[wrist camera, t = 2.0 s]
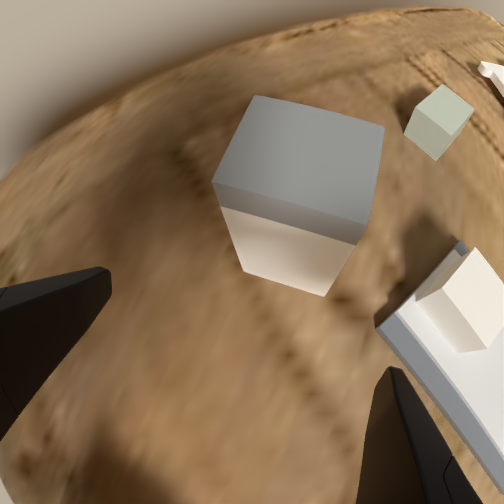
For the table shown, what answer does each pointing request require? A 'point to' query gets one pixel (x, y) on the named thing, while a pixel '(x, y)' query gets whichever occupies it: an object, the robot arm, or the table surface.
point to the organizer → (493, 74)
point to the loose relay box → (438, 121)
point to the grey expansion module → (298, 190)
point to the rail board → (458, 349)
